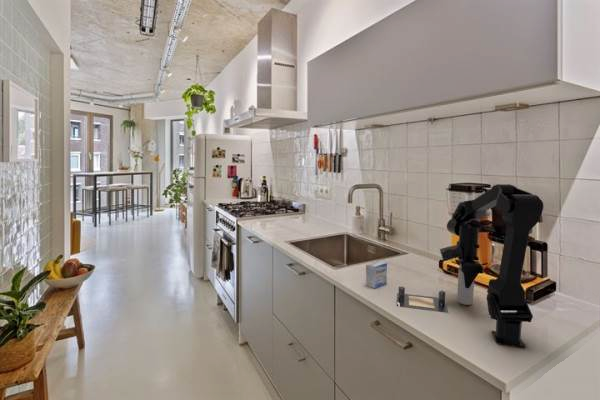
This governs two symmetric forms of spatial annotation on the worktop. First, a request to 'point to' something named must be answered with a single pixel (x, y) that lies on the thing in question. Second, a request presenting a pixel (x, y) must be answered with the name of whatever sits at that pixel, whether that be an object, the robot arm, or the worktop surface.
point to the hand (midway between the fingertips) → (465, 285)
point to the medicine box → (376, 274)
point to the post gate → (422, 301)
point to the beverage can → (464, 291)
